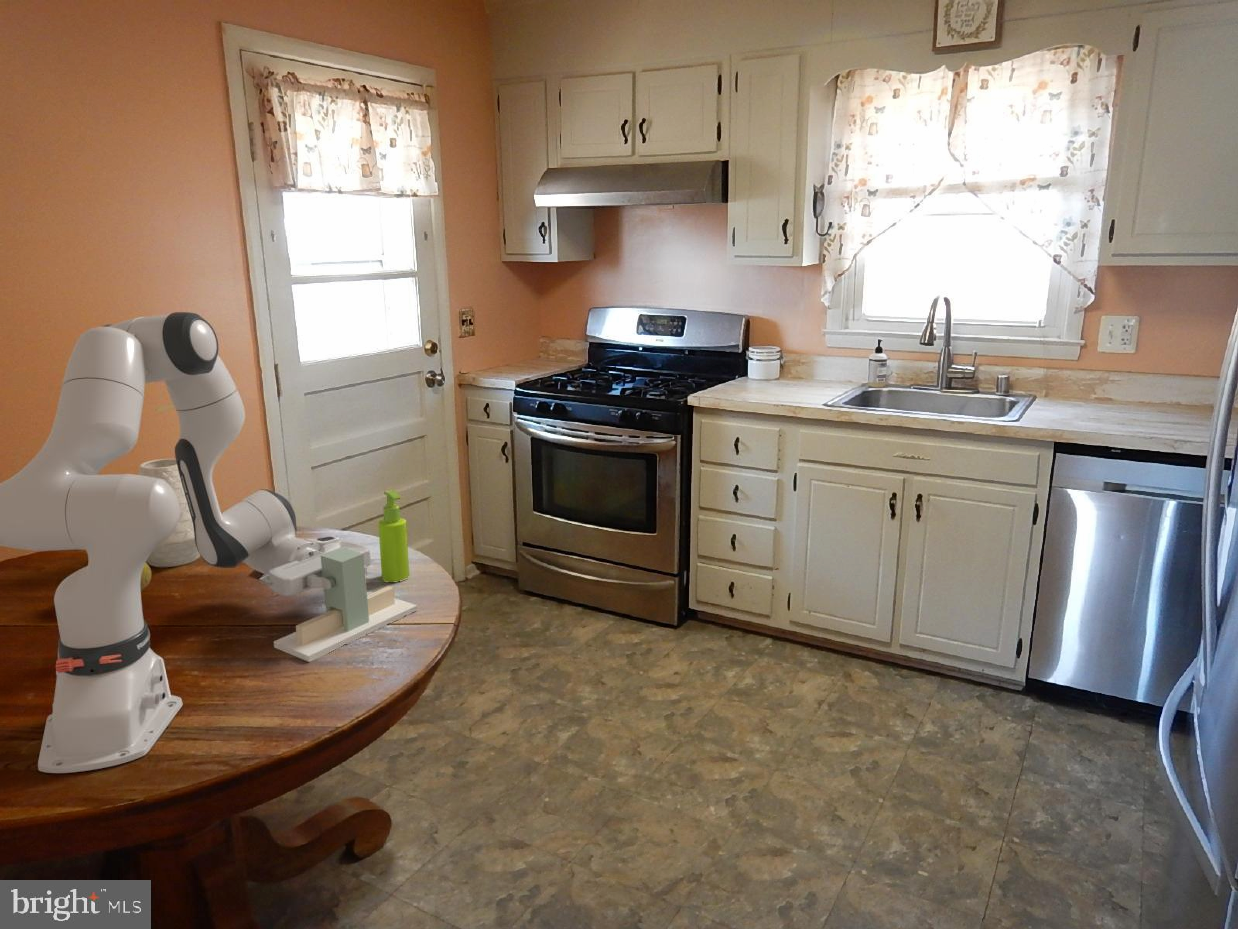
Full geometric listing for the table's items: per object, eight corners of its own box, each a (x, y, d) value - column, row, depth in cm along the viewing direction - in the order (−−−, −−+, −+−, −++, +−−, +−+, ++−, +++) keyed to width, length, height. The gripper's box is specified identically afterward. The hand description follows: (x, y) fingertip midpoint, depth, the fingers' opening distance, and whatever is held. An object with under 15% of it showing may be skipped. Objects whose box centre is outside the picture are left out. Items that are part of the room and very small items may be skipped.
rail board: (309, 662, 152) (307, 638, 150) (274, 647, 157) (271, 624, 156) (417, 610, 173) (416, 589, 171) (383, 599, 178) (381, 578, 177)
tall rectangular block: (348, 631, 161) (341, 562, 157) (327, 623, 164) (320, 555, 160) (369, 621, 165) (363, 553, 161) (348, 614, 168) (342, 547, 164)
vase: (208, 569, 193) (196, 470, 187) (122, 576, 189) (107, 475, 183) (221, 543, 209) (210, 452, 203) (142, 549, 205) (129, 456, 199)
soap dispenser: (389, 586, 184) (384, 498, 179) (377, 576, 190) (372, 490, 185) (415, 580, 188) (410, 493, 183) (403, 570, 193) (398, 486, 188)
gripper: (252, 563, 159) (300, 579, 152) (341, 533, 176) (387, 546, 169) (256, 594, 161) (303, 612, 154) (343, 562, 178) (389, 576, 170)
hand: (348, 577), depth 161 cm, fingers open, 6 cm apart
